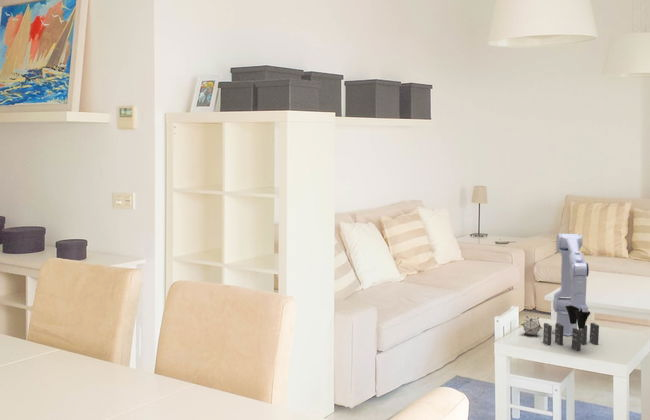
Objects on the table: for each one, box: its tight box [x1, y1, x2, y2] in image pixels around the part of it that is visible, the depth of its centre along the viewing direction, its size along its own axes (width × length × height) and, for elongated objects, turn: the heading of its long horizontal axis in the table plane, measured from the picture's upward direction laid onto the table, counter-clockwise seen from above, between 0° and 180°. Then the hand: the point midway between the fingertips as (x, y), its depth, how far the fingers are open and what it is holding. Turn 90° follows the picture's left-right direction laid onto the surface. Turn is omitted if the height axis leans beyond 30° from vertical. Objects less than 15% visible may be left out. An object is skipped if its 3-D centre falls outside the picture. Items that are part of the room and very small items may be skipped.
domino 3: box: [571, 328, 582, 352], centre depth 304 cm, size 1×5×8 cm, turn 5°
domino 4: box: [578, 324, 588, 346], centre depth 313 cm, size 1×5×8 cm, turn 5°
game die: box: [520, 315, 543, 337], centre depth 326 cm, size 9×8×10 cm
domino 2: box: [554, 322, 564, 346], centre depth 313 cm, size 1×5×8 cm, turn 5°
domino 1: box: [542, 322, 553, 346], centre depth 312 cm, size 1×5×8 cm, turn 5°
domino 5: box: [589, 322, 600, 346], centre depth 314 cm, size 1×5×8 cm, turn 5°
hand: (577, 326), depth 303 cm, fingers open, 7 cm apart
